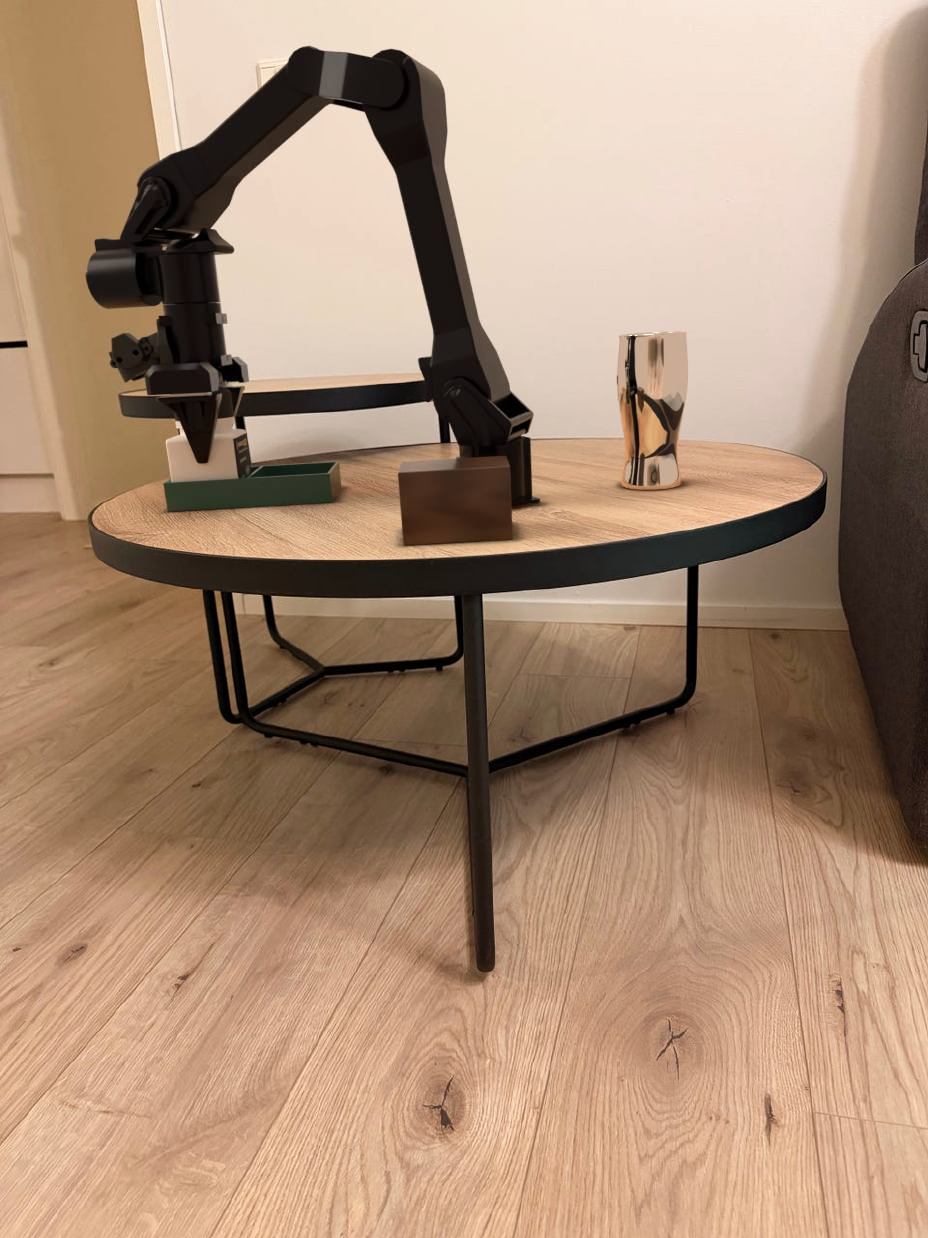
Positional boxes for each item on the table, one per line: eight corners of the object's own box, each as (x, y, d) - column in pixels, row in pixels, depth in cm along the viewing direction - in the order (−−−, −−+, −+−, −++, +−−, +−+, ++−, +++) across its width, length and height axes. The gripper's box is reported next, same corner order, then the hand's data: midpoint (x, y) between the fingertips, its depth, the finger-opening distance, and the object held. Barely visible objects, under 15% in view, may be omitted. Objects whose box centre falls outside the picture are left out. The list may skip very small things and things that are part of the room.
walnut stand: (508, 523, 81) (506, 455, 79) (512, 539, 75) (510, 466, 73) (407, 529, 81) (401, 461, 79) (403, 545, 75) (397, 472, 73)
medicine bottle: (243, 503, 96) (227, 385, 93) (174, 508, 96) (156, 390, 93) (254, 493, 103) (240, 383, 100) (190, 497, 103) (174, 387, 99)
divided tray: (341, 487, 104) (339, 461, 103) (332, 502, 96) (329, 473, 95) (189, 496, 104) (185, 470, 103) (167, 511, 96) (163, 483, 95)
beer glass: (609, 481, 98) (608, 334, 93) (672, 476, 99) (675, 330, 94) (627, 492, 91) (627, 335, 87) (695, 487, 92) (699, 331, 87)
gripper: (141, 309, 102) (162, 450, 107) (77, 306, 85) (105, 475, 89) (241, 304, 102) (257, 445, 107) (198, 300, 85) (220, 470, 89)
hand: (211, 458), depth 98 cm, fingers closed on medicine bottle, 7 cm apart
